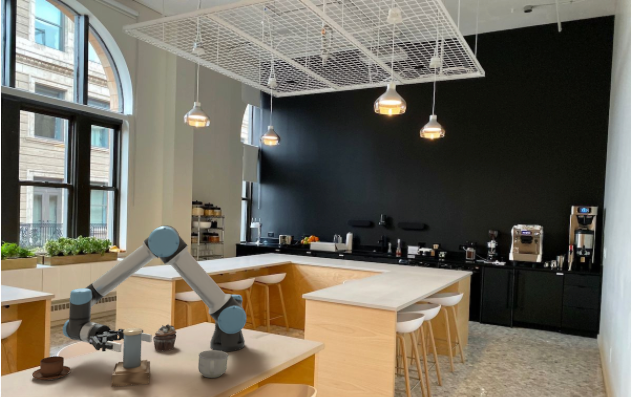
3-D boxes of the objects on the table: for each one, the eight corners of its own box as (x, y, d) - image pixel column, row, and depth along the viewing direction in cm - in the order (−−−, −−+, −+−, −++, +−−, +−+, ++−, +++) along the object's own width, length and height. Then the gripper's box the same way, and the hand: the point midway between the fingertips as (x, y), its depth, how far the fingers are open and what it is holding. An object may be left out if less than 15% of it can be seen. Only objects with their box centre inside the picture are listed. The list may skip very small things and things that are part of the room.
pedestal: (149, 371, 173) (150, 358, 173) (148, 383, 162) (149, 370, 162) (115, 374, 169) (115, 361, 169) (111, 386, 158) (111, 372, 158)
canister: (141, 361, 170) (142, 327, 170) (140, 367, 164) (141, 332, 164) (123, 363, 168) (124, 328, 168) (121, 369, 162) (122, 333, 162)
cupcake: (164, 343, 208) (165, 321, 208) (180, 347, 203) (181, 324, 203) (147, 349, 199) (148, 326, 199) (164, 353, 195) (165, 329, 195)
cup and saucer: (24, 379, 162) (24, 362, 162) (54, 368, 173) (55, 352, 174) (48, 385, 158) (49, 367, 158) (77, 374, 169) (78, 357, 169)
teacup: (202, 369, 177) (203, 348, 177) (230, 370, 177) (231, 349, 177) (191, 383, 163) (192, 360, 164) (221, 384, 163) (222, 362, 163)
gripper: (123, 336, 185) (162, 344, 176) (65, 352, 163) (106, 363, 154) (123, 317, 186) (162, 325, 176) (65, 331, 163) (106, 341, 154)
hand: (136, 343), depth 165 cm, fingers open, 13 cm apart
